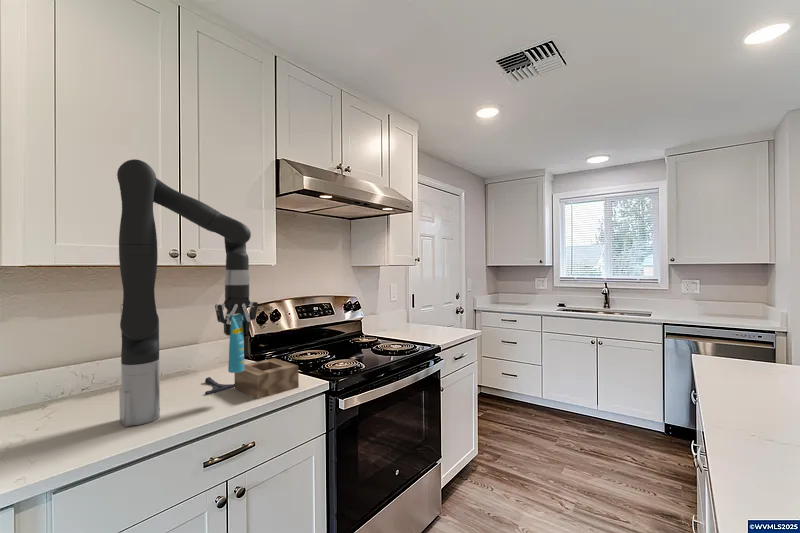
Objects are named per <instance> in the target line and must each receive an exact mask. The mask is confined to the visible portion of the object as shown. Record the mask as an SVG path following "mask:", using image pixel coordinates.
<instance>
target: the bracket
mask: <svg viewBox="0 0 800 533" xmlns="http://www.w3.org/2000/svg"><path fill="white" fill-rule="evenodd" d="M204 382H206V383H205V384H207V383H208V385H210V384H211V385H210V386H212V387H213V388H212V389H211V390H210V389H209V390H207V391H205V392H204V395H206V396H210V395H213V394H216V392H217V393H220V392H224V391H226V390H230V389H235V388H234V387H235V383H232V384H225V383H223V384H222V383H218V382H217V381H215V380H214V379H213V378H211V377H210V376H209V377H206V378H205V381H204ZM212 393H213V394H212ZM209 394H210V395H209Z"/></svg>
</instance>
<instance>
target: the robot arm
mask: <svg viewBox="0 0 800 533" xmlns="http://www.w3.org/2000/svg"><path fill="white" fill-rule="evenodd" d="M116 172H117V173H116V176H117V181H118V185H119V190H120V199H121V216H120V223H119V232H118V233H119V234H118V261H119V270H120V272H119V273H120V278H121V284H122V291H123V294H122V296H123V297H122V310H121V316H120V317H121V318H120V323H119V327H120V330H121V353H120V358H121V359H120V363H121V364H120V365H121V374H120V376H121V388H119V422H120V423H121V424H122V425H123V426H124V427H130V426H138V425H139V426H140V425H144V424H148V423H151V422H153V421H155V420H158V419H159V418H160V416H161V415H160V414H161V413H160V412H161V407H160V406H161V405H160V401H161V400H160V396H161V395H160V319H159V315H158V312H157V306H156V299H155V296H156V295H155V285H156V280H157V279H156V278H157V270H158V259H159V258H158V254H159V253H158V239H157V238H158V237H157V228H156V220H155V216H154V203H155V204H156V205H160V206H162V207H164V208H165V209H168V210H170V211H171V212H174V213H175V214H177V215H179V216H181V217H182V218H185V219H186V220H188V221H190V222H192V223H194V224H195V225H197V226H198V227H200V228H203V229H205V230H206V231H208V232H211V233H216V234H218V235H219V236H221V237H223V238H224V239H223V240H224V247H225V248H224V249H225V254H226V255H225V257H226V258H225V275H224V302H223V303H220V304H214V309H215V314H216V318H217V322H218V323H221V324H223V334H225V336H229V337H230V326H231V318H232V315H237V314H241V316H242V317H243V329H244V334H249V332H250V325H251V324H250V322H251V321H253V320H256V318H257V317H256V316H257V311H258V306H259V302H257V301H250V269H249V267H250V265H249V263H250V262H249V255H248V253H247V243H248V242H249V241H250V239H251V237H252V235H251V234H252V233H251V230H250V228H249V227H248V226H247V225H246V224H244V223H243V222H241V221H240V220H237V219H234V218H232V217H230V216H228V215H225V214H223V213H222V212H220V211H218V210H217V209H215V208H213V207H212V206H210V205H209V204H206V203H204V202H203V201H200V200H198V199H197V198H194V197H191V196H189V195H186V194H184V193H182V192H179V191H177V190H176V189H174V188H172V187H171V186H168V185H167V184H166V183H164V182H163V181H161V180H160V179H159V178H157V176H156V175H157V174H156V172H155V170H154V169H153V168H152V166H150V165H149V164H148V163H147V162H146V161H143V160H140V159H137V158H136V159H133V158H132V159H129V160H126V161H124V162H123V163H122V164H121V165H120V166H119V167H118V169H117V171H116ZM248 307H249V308H250V309H249V308H248ZM225 309H226V312H225V314H224V312H223V311H224V310H225ZM248 309H249V311H248Z"/></svg>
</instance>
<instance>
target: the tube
mask: <svg viewBox="0 0 800 533" xmlns="http://www.w3.org/2000/svg"><path fill="white" fill-rule="evenodd" d="M243 322H244V319H243V317H242V316H241V314H240V313H238V314H234V315H232V318H231V322H230V324H231V326H230V335H229V344H228V346H229V347H228V373H231V374H235V373H239V372H243V371H244V364H245V340H244V337H245V336H244V335H245V333H244V329H243Z"/></svg>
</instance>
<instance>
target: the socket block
mask: <svg viewBox="0 0 800 533" xmlns="http://www.w3.org/2000/svg"><path fill="white" fill-rule="evenodd" d="M299 375H300V374H299V365H298V364H294V363H291V362H288V361H284V360H281V359H278V358H269V359H264V360H260V361H256V362H249V363H244V371H243V372H239V373H234V384H235V388H234V389H236V390H237V391H240V392H242V393H244V394H246V395H248V396H250V395H251V396H250V397H252V396H253V397H252V398H255V399H257V400H258V399H262V397H263V398H266V397H269V396H273V395H275V394H276V393H277V394H280V393H283V392H286V391H290V390H294V389H297V388H299V386H300V385H299V382H300V381H299Z"/></svg>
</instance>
